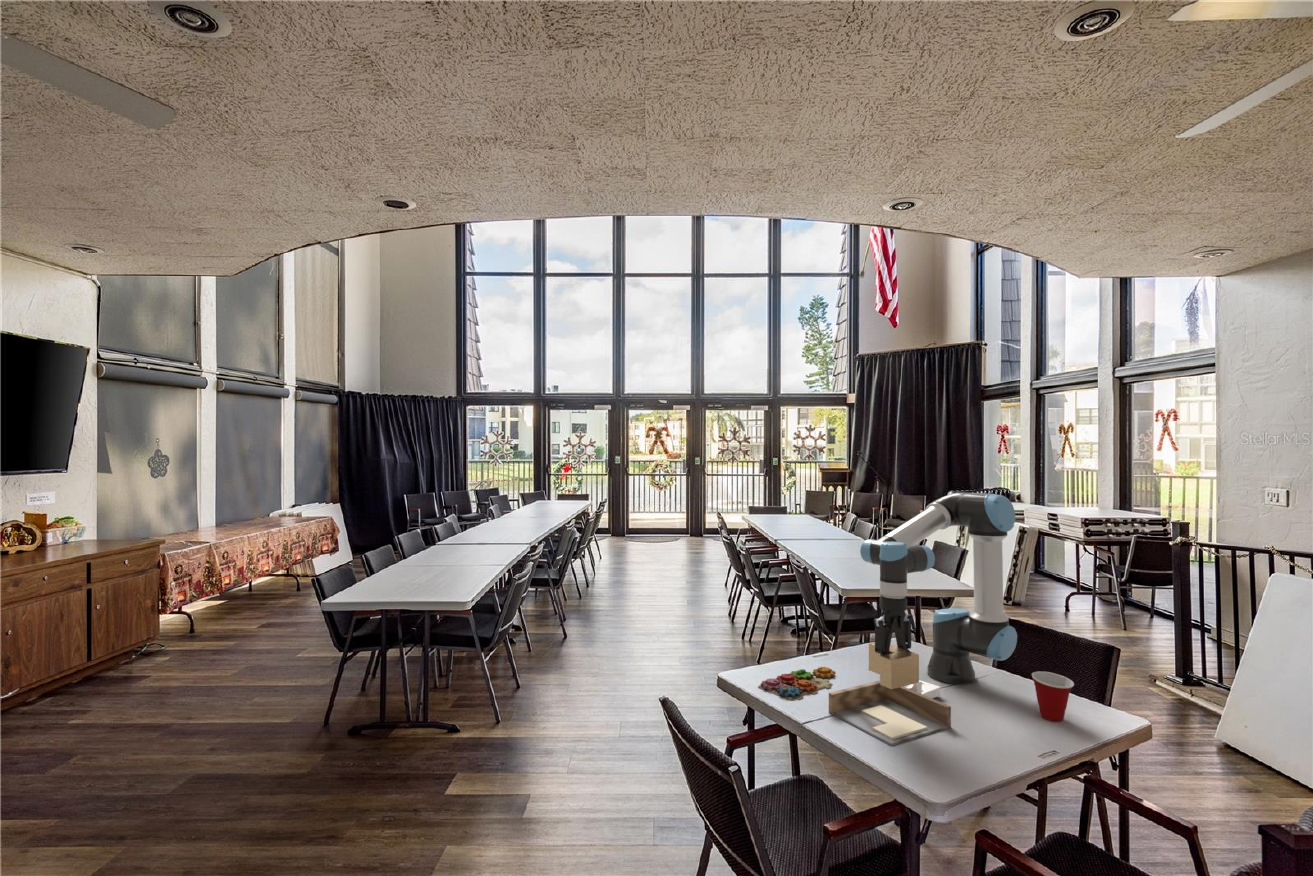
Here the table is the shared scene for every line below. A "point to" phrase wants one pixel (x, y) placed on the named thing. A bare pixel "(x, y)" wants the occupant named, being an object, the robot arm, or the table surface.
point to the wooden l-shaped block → (895, 666)
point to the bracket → (925, 689)
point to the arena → (898, 700)
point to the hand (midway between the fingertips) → (893, 675)
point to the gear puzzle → (798, 683)
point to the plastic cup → (1052, 694)
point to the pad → (893, 722)
